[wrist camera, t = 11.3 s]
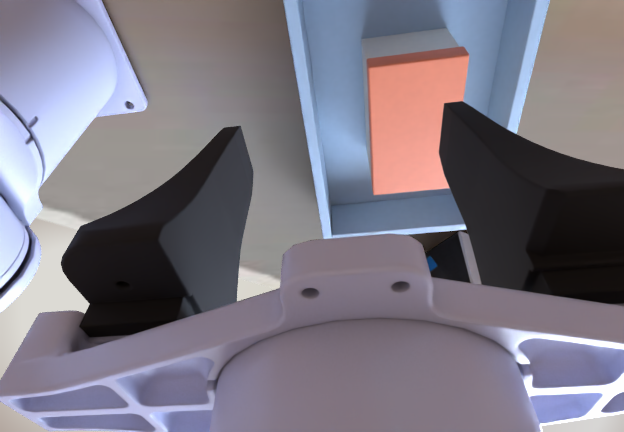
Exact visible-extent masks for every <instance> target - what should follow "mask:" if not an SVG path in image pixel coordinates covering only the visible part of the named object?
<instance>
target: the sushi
mask: <svg viewBox="0 0 624 432" xmlns="http://www.w3.org/2000/svg"><path fill="white" fill-rule="evenodd" d="M361 46H362V66H363V86H364V106H365V126H366V146H367V155H368V162H369V168H370V175H371V181H372V190H373V194H374V195H381V194H392V193H403V192H413V191H424V190H435V189H445V188H449V185H448V183H447V180H446V178H445V175H444V172H443V168H442V164H441V160H440V156H439V145H440V136H441V126H442V117H443V108H444V103H450V102H459V101H463V99H464V92H465V85H466V77H467V70H468V62H469V53H468V52H467V50H466V49H465V47H463V46H462V47H459V45H458V44H457V42H456V41H455V39H454V38H453V36H452V35H451V33H450V32H449V30H448V29H447V28H441V29H434V30H426V31H419V32H411V33H404V34H396V35H389V36H381V37H374V38H366V39H361Z"/></svg>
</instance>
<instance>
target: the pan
mask: <svg viewBox="0 0 624 432" xmlns="http://www.w3.org/2000/svg"><path fill="white" fill-rule="evenodd" d="M549 1H550V0H283V2H284V8H285V14H286V20H287V26H288V32H289V38H290V44H291V50H292V56H293V62H294V67H295V73H296V79H297V85H298V91H299V97H300V103H301V109H302V115H303V121H304V127H305V132H306V138H307V144H308V150H309V156H310V162H311V168H312V174H313V180H314V186H315V192H316V198H317V203H318V209H319V215H320V221H321V227H322V233H323V239H330V238H342V237H354V236H366V235H378V234H400V235H408V234H420V233H432V232H444V231H456V230H467V228H466V226H465V223H464V220H463V218H462V216H461V213H460V211H459V209H458V206H457V204H456V202H455V199H454V197H453V195H452V192H451V190H450V188H445V189H435V190H424V191H413V192H403V193H392V194H381V195H374V194H373V190H372V181H371V175H370V168H369V162H368V155H367V146H366V126H365V106H364V86H363V66H362V46H361V39H366V38H374V37H381V36H389V35H396V34H404V33H411V32H419V31H426V30H434V29H441V28H447V29H448V30H449V32H450V33H451V35H452V36H453V38H454V39H455V41H456V42H457V44H458V45H459V47H462V46H463V47H465V49H466V50H467V52H468V53H469V62H468V70H467V77H466V85H465V92H464V99H463V102H465V103H467V104H468V105H470V106H471V107H473V108H474V109H476V110H477V111H479V112H481V113H482V114H484V115H485V116H487V117H488V118H490V119H491V120H493V121H494V122H496V123H498V124H499V125H501V126H503V127H504V128H506V129H508V130H510V131H511V132H513V133H515V134H516V133H517V129H518V125H519V121H520V117H521V113H522V109H523V105H524V101H525V97H526V93H527V89H528V85H529V81H530V77H531V73H532V69H533V65H534V61H535V57H536V53H537V49H538V45H539V41H540V37H541V33H542V29H543V25H544V21H545V17H546V13H547V9H548V5H549Z"/></svg>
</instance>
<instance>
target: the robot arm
mask: <svg viewBox="0 0 624 432" xmlns="http://www.w3.org/2000/svg"><path fill="white" fill-rule="evenodd" d="M127 101H130V102H132V103H133V105H134V106H131V105H129V104H128V103H127ZM147 104H148V102H147V99H146V97H145V95H144V93H143V90H142V88H141V86H140V84H139V82H138V79H137V77H136V75H135V73H134V71H133V68H132V66H131V64H130V62H129V60H128V57H127V55H126V53H125V51H124V49H123V46H122V44H121V42H120V40H119V38H118V35H117V33H116V31H115V29H114V27H113V24H112V22H111V20H110V18H109V16H108V13H107V11H106V9H105V7H104V5H103V2H102V0H0V312H1V311H3V310H4V309H5V308H7V307H8V306H9V305H10V304H11V303H12V302H13V301H14V300H15V299H16V298H17V297H18V296H19V295H20V294H21V293H22V291H23V290H24V289H25V288H26V287H27V285H28V284H29V283H30V281H31V280H32V278H33V276H34V275H35V273H36V271H37V268H38V266H39V264H40V259H41V245H40V243H39V240H38V238H37V236H36V235H35V234H34V233H33V231H32V230H31V229H30V227H29V225H30V224H31V222H32V221H33V220H34V219H35V217H36V216H37V214H38V213H39V212H40V210H41V209H42V208H43V206H42V204H41V202H40V200H39V197H38V190H39V188H40V186H41V185H42V184H43V183H44V181H45V180H46V179H47V177H48V176H49V175H50V174H51V172H52V171H53V170H54V169H55V167H56V166H57V165H58V164H59V162H60V161H61V160H62V158H63V157H64V156H65V155H66V153H67V152H68V151H69V150H70V148H71V147H72V146H73V144H74V143H75V142H76V141H77V139H78V138H79V137H80V136H81V134H82V133H83V132H84V131H85V129H86V128H87V127H88V125H89V124H90V123H91V122H92V120H93V119H94V118H95V117H99V116H107V115H115V114H123V113H132V112H140V111H143V110H145V109H146V107H147ZM439 156H440V160H441V164H442V168H443V172H444V175H445V178H446V180H447V183H448V185H449V188H450V190H451V192H452V195H453V197H454V199H455V202H456V204H457V206H458V209H459V211H460V213H461V216H462V218H463V220H464V223H465V226H466V228H467V231H468V235H469V238H470V242H471V245H472V249H473V252H474V256H475V260H476V264H477V268H478V272H479V275H480V280H481V284H482V285H480V284H473V283H467V282H460V281H453V280H447V279H440V278H434V277H431V274H430V270H429V266H428V263H427V259H426V255H425V252H424V249H423V246H422V243H420V242H419V241H417V240H415V239H414V238H412V237H411V236H409V235H400V234H378V235H366V236H354V237H342V238H330V239H318V240H310V241H306V242H303V243H299V244H295V245H293V246H292V247H291V248H290V249H289V250H288V251H287V252H285V253H284V254H283V260H282V269H281V282H280V288H279V289H276V290H272V291H269V292H266V293H263V294H260V295H257V296H253V297H250V298H247V299H244V300H241V301H237V285H238V271H239V260H240V249H241V243H242V238H243V233H244V229H245V224H246V219H247V215H248V210H249V206H250V201H251V196H252V187H253V168H252V165H251V161H250V158H249V154H248V151H247V147H246V144H245V140H244V137H243V133H242V130H241V126H235V127H226V128H223V129H222V130H221V131H220V132H219V133H218V134H217V135H216V136H215V137H214V138H213V139H212V140H211V141H210V142H209V143H208V144H207V145H206V147H205V148H204V149H203V150H202V151H201V152H200V153H199V154H198V155H197V156H196V157H195V158H194V159H192V160H191V161H190V162H189V163H188V164H187V165H186V166H185V167H184V168H183V169H182V170H181V171H179V172H178V173H177V174H176V175H175V176H173V177H172V178H171V179H169V180H168V181H167V182H165V183H164V184H163V185H161V186H160V187H158V188H157V189H155V190H154V191H152V192H151V193H149V194H147V195H146V196H144V197H142V198H141V199H139V200H138V201H136V202H134V203H132V204H130V205H128V206H126V207H124V208H122V209H120V210H118V211H116V212H114V213H112V214H110V215H107V216H105V217H102V218H100V219H97V220H95V221H93V222H90V223H88V224H85V225H82V226H80V228H79V230H78V231H77V233H76V235H75V236H74V238H73V240H72V241H71V243H70V245H69V246H68V248H67V250H66V252H65V253H64V255H63V257H62V261H61V266H62V270H63V272H64V274H65V275H66V276H67V278H68V279H69V281H70V282H71V283H72V284H73V285H74V286H75V288H77V290H78V291H79V292H80V293H81V294H82V295H83V296H84V298H85V299H86V300H87V301H88V302H89V303H90V305H89V307H88V309H87V311H86V313H85V314H84V313H82V312H79V311H58V312H44V313H39V314H38V316H37V318H36V320H35V321H34V323H33V325H32V326H31V328H30V330H29V331H28V333H27V335H26V337H25V338H24V340H23V342H22V344H21V346H20V347H19V349H18V351H17V352H16V354H15V356H14V358H13V359H12V361H11V363H10V365H9V367H8V368H7V370H6V372H5V373H4V375H3V377H2V378H1V380H0V402H2V403H3V404H5V405H7V406H8V407H10V408H12V409H13V410H15V411H16V412H18V413H20V414H22V415H23V416H25V417H26V418H28V419H30V420H31V421H33V422H35V423H36V424H38V425H39V426H41V427H43V428H44V429H46V430H48V431H74V430H85V431H116V432H543V431H542V428H541V426H543V425H549V424H556V423H562V422H569V421H576V420H582V419H589V418H595V417H602V416H609V415H615V414H622V413H624V169H619V168H613V167H609V166H604V165H600V164H596V163H591V162H587V161H584V160H580V159H577V158H573V157H570V156H567V155H564V154H561V153H558V152H555V151H553V150H550V149H547V148H545V147H543V146H540V145H538V144H535V143H533V142H531V141H529V140H527V139H525V138H523V137H521V136H519V135H517V134H515V133H513V132H511V131H510V130H508V129H506V128H504V127H503V126H501V125H499V124H498V123H496V122H494V121H493V120H491V119H490V118H488V117H487V116H485V115H484V114H482V113H481V112H479V111H477V110H476V109H474V108H473V107H471V106H470V105H468V104H467V103H465V102H463V101H459V102H450V103H444V108H443V117H442V126H441V136H440V145H439Z"/></svg>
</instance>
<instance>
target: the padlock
mask: <svg viewBox="0 0 624 432" xmlns="http://www.w3.org/2000/svg"><path fill="white" fill-rule="evenodd" d="M425 255H426V259H427V263H428V266H429V270H430V274H431V277H434V278H440V279H447V280H453V281H460V282H467V283H473V284H480V285H482V284H481V280H480V275H479V272H478V268H477V264H476V260H475V256H474V252H473V249H472V245H471V242H470V238H469V235H468V234H466V233H464V232H462V231H459V232H457V233H456V234H454V235H453V236H451V237H450V238H448V239H447V240H445V241H444V242H442V243H441V244H439V245H438V246H436V247H435V248H433V249H432V250H430V251H429V252H427V253H426V254H425Z"/></svg>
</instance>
